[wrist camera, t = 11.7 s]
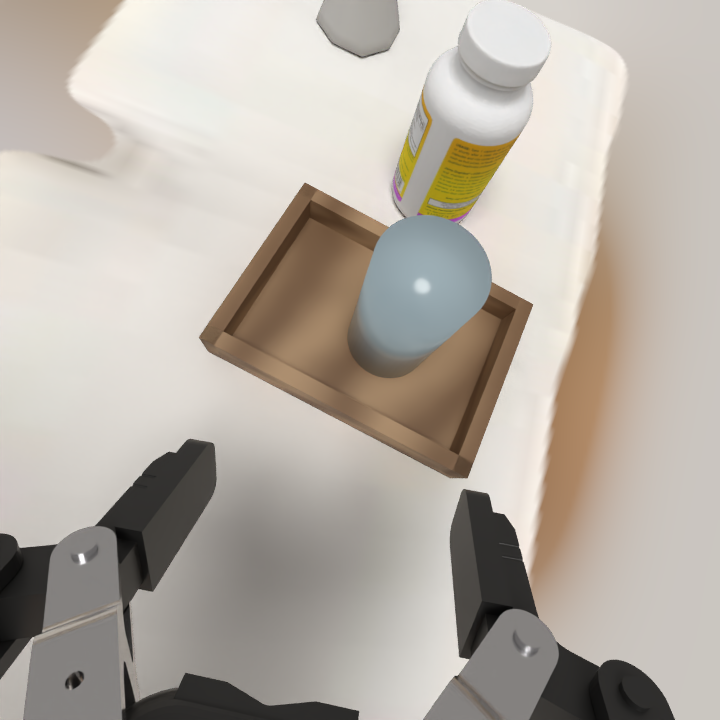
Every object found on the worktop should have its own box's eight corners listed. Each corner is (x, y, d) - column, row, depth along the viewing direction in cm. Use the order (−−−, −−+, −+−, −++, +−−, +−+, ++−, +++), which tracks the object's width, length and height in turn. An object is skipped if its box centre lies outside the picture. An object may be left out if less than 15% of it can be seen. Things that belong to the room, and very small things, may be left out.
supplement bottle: (484, 205, 33) (594, 50, 21) (430, 247, 31) (517, 103, 19) (429, 149, 34) (505, -32, 22) (372, 187, 32) (422, 11, 20)
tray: (208, 351, 26) (198, 337, 24) (303, 208, 31) (304, 182, 28) (450, 478, 27) (467, 478, 24) (512, 319, 31) (533, 304, 28)
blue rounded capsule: (333, 355, 27) (351, 291, 17) (368, 287, 29) (401, 195, 19) (408, 392, 27) (467, 348, 18) (438, 322, 29) (507, 248, 19)
